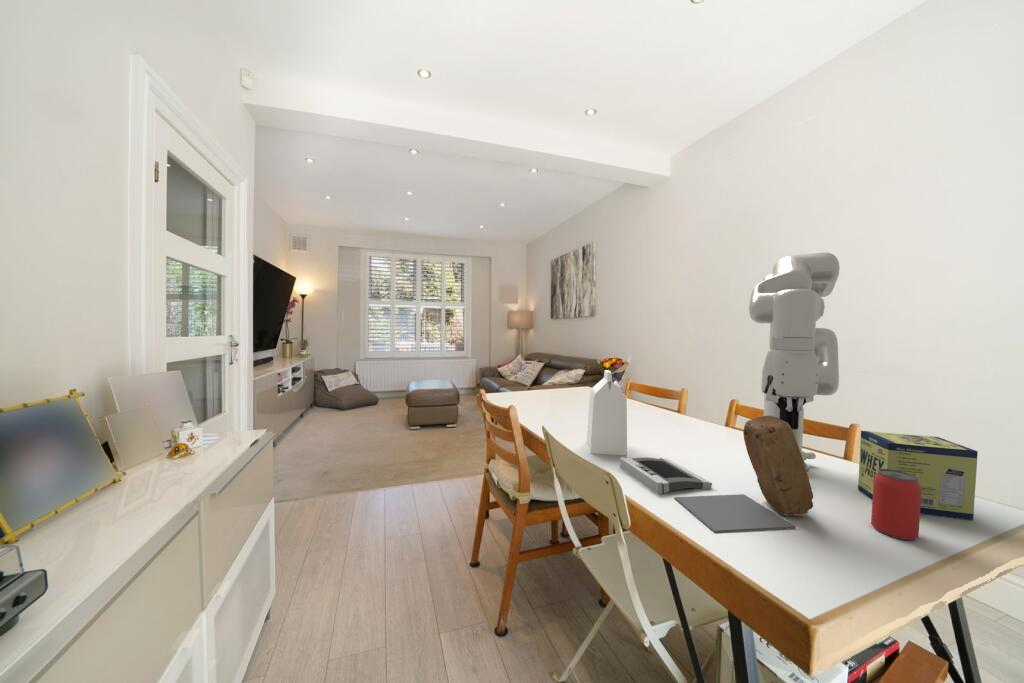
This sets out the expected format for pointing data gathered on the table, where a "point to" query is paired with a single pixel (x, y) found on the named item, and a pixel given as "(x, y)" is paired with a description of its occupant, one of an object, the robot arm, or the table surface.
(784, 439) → the block
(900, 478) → the beer can
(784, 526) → the mat
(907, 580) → the table surface
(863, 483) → the protein box
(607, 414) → the milk
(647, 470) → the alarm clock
